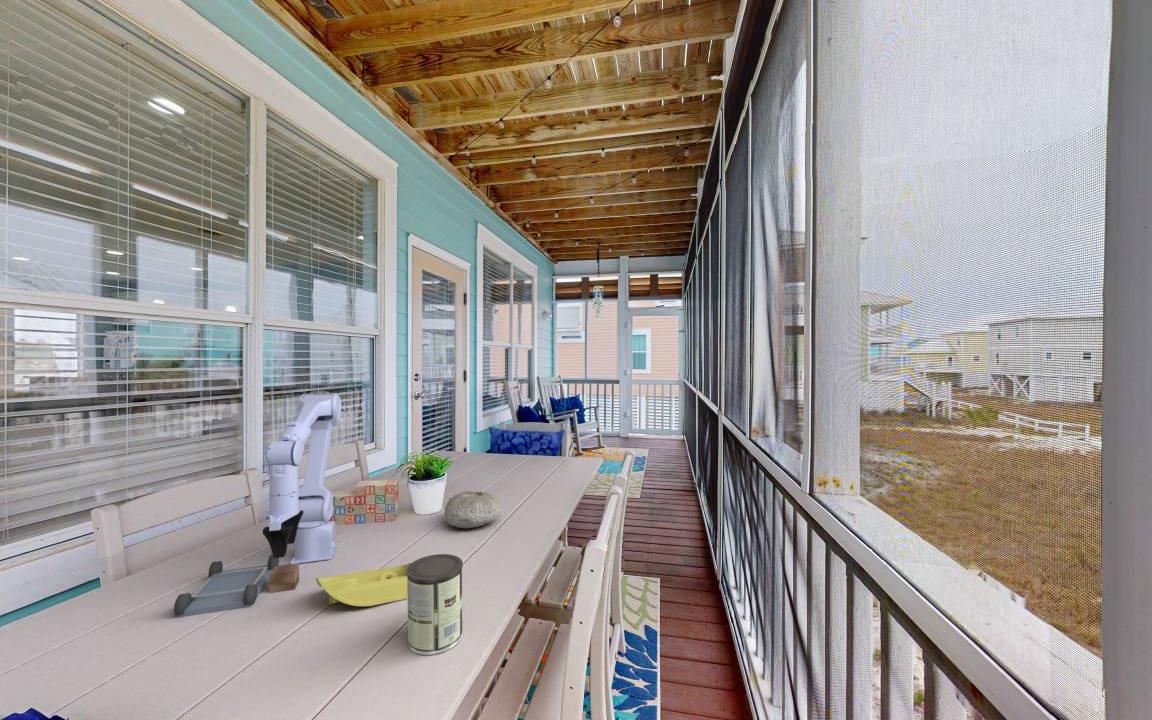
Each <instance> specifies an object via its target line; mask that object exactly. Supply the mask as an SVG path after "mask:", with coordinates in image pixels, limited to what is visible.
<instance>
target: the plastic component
mask: <svg viewBox="0 0 1152 720" xmlns="http://www.w3.org/2000/svg"><path fill="white" fill-rule="evenodd" d="M413 562H414V561H412V562H409V563H407V564H402V565H397V566H396V565H395V566H390V567H384V568H379V569H372V570H367V571H360V572H354V573H348V574H347V573H346V574H342V575H334V576H328V577H327V576H326V577H320V576H317V577H316V578H315V581H316V584H317V585H318V586H319V588H320V587H321V588H322V589H323V590H324V591H325V593H327V594H328V595H329V605H331V604H336V603H343V604H345V605H349V606H354V607H372V606H378V605H381V604H387V603H391V602H397V601H402V600H406V599H407V600H408V593H407V572H406V571H407V568H408V566H409V565H410V564H411V563H413Z"/></svg>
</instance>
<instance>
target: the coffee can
mask: <svg viewBox="0 0 1152 720" xmlns="http://www.w3.org/2000/svg"><path fill="white" fill-rule="evenodd" d="M412 562H413V563H412ZM412 562H410V563H411V564H410V565H409V566H408V568H407V571H406V572H407V593H408V598H407V647H408V649H409V650H410V652H412V653H414V654H417V655H421V656H434V655H438V654H439V655H440V654H442V653H445V652H447V651H449V650H451V649H453V648H454V647H456V646H457V645H458V644H459V643H460V641H462V639H463V635H464V631H463V566H464V563H463V560H462V559H461V557H458V556H457V555H454V554H448V553H439V554H431V555H426V556H423V557H420V558H418V559H415V561H414V560H413V561H412Z"/></svg>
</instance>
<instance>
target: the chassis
mask: <svg viewBox="0 0 1152 720" xmlns="http://www.w3.org/2000/svg"><path fill="white" fill-rule="evenodd" d="M279 561H280V558H274V557H273V554H270V555H269V556H268V560H267V564H266V565H258V566H249V567H242V568H241V567H240V568H234V569H226V570H223V567H224V565H223V561H221V560H219V561H218V560H217V561H213V562H212V563H210V565H209V567H208V568H209V569H208V579H207V580H206V581H205V582H204V583H203V584H202V585H201V586H200V587H199V588H198V589H197V590H196V591H195V592H194V594H191V593H190V592H189V593H181V594H179V595H177V597H176V599H175V602H174V606H173V613H174V615H175V616H177V618H182V617H188V616H194V615H203V614H207V613H215V612H220V611H223V612H224V611H230V610H234V609H243V608H249V607H252V606H253V605H254V604H255V603H256V601H257V599H258V597H259V595H260V594H261V593H262V592H263V590H264V588H265V586H266V585H267V584H268V583H269V574H270V572H271V571H272V570H273V568H274V567H275V566H279V564H280V563H279Z"/></svg>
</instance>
